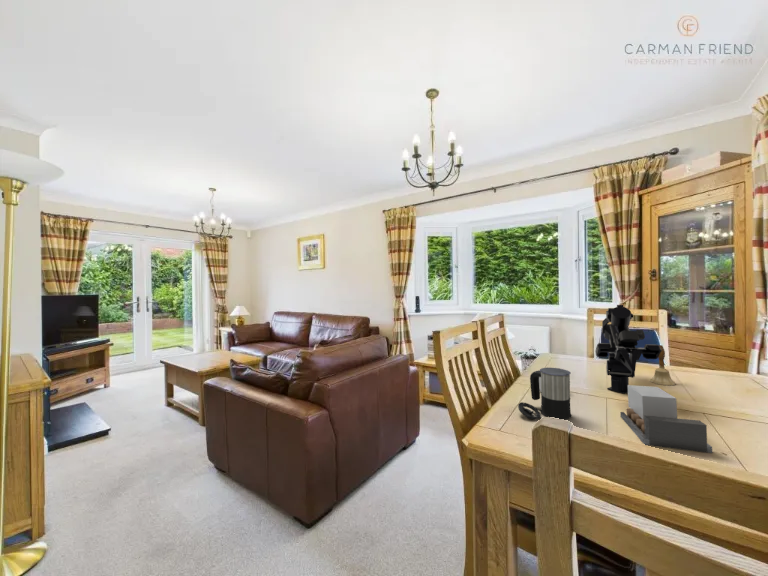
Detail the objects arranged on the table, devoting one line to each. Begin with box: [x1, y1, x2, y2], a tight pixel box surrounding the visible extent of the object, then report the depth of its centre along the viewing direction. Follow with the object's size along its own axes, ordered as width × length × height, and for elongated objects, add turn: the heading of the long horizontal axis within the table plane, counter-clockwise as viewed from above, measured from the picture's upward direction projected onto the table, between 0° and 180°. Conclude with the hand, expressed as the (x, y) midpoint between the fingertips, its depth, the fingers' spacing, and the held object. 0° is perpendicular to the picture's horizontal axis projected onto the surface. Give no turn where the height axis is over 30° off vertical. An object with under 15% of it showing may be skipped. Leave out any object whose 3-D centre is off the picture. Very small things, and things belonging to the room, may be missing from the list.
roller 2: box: [631, 414, 642, 425], centre depth 96 cm, size 11×3×3 cm, turn 69°
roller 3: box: [635, 419, 644, 431], centre depth 92 cm, size 11×3×3 cm, turn 69°
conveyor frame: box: [620, 411, 713, 454], centre depth 92 cm, size 19×14×7 cm
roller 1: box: [626, 408, 636, 420], centre depth 100 cm, size 11×3×3 cm, turn 69°
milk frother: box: [517, 367, 573, 420], centre depth 107 cm, size 14×16×15 cm
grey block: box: [627, 384, 678, 420], centre depth 98 cm, size 12×8×7 cm, turn 159°
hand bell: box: [649, 344, 677, 386], centre depth 136 cm, size 8×8×16 cm
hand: (633, 371), depth 110 cm, fingers closed
